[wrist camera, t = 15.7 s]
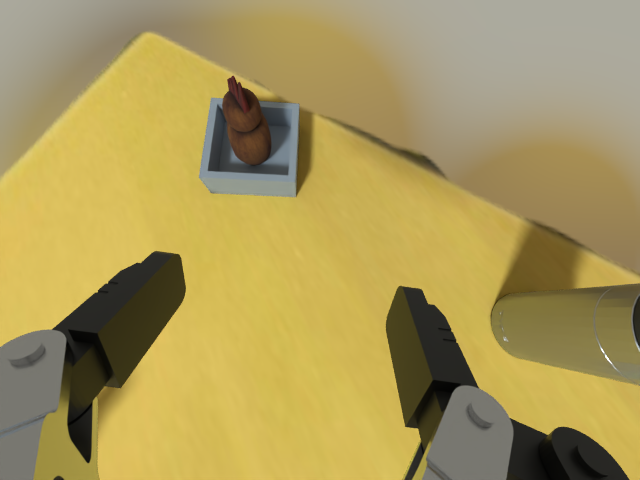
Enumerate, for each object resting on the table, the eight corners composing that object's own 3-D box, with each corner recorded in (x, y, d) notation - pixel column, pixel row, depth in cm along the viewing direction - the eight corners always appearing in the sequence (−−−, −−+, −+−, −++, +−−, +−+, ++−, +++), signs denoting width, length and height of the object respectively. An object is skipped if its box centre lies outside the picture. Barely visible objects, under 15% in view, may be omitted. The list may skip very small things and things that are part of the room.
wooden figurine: (276, 169, 42) (263, 93, 27) (239, 174, 41) (205, 100, 26) (269, 132, 43) (253, 42, 29) (233, 137, 42) (198, 47, 28)
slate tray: (299, 125, 45) (299, 103, 40) (296, 197, 42) (295, 182, 37) (221, 120, 44) (211, 97, 39) (211, 193, 41) (198, 177, 36)
